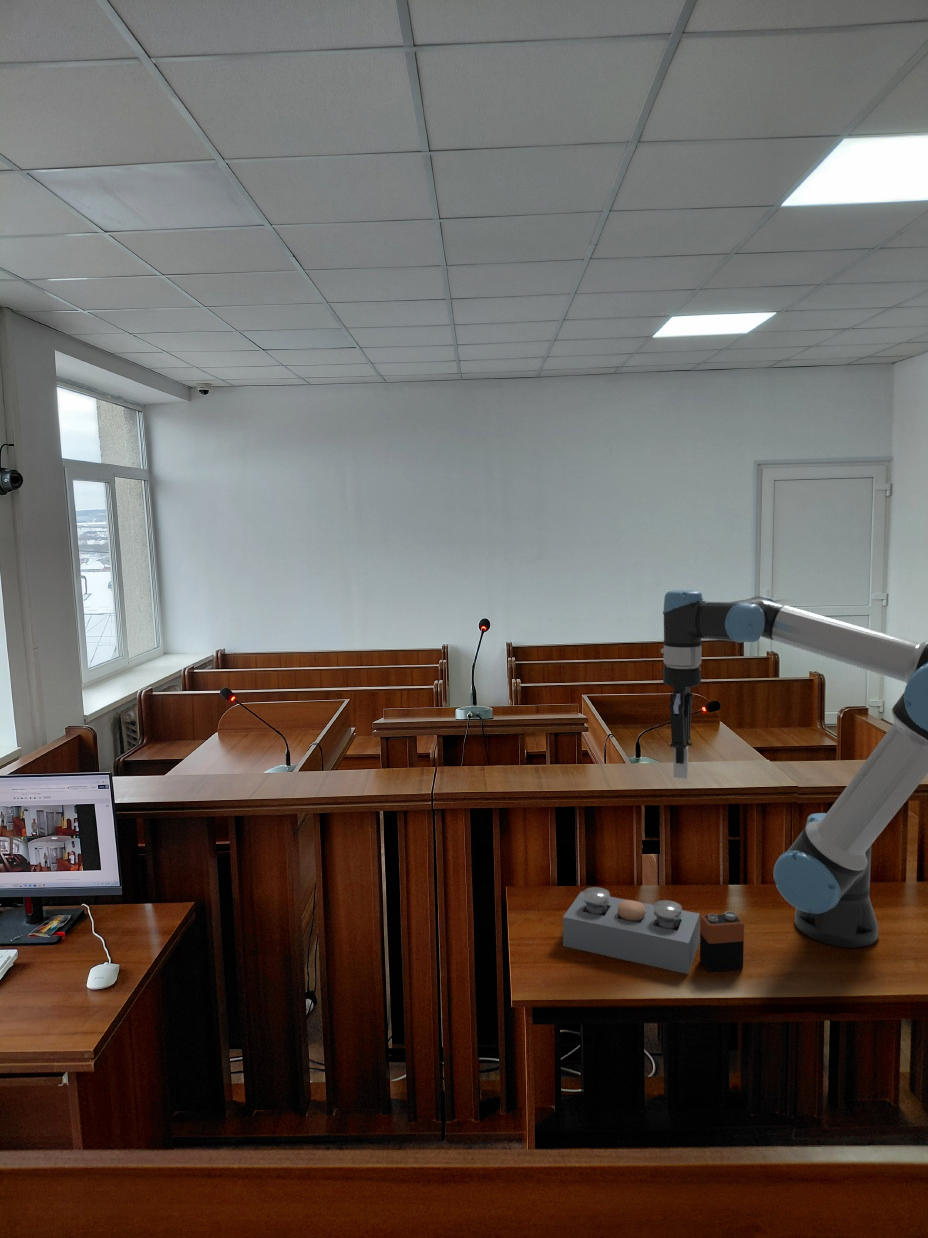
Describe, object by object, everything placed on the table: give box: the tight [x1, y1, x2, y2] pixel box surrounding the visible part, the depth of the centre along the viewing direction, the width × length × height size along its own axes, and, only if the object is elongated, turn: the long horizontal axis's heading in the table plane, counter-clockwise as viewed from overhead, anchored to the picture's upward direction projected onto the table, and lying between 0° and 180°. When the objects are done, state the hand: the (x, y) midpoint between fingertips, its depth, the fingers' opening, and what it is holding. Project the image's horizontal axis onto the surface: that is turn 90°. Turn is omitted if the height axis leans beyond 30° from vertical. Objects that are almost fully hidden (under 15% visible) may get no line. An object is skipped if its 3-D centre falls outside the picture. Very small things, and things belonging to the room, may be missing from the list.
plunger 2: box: [653, 899, 683, 931], centre depth 149 cm, size 5×5×6 cm
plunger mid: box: [618, 899, 645, 923], centre depth 152 cm, size 5×5×6 cm
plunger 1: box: [583, 886, 611, 916], centre depth 155 cm, size 5×5×6 cm
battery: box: [699, 910, 745, 973], centre depth 144 cm, size 4×7×10 cm, turn 96°
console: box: [562, 890, 701, 975], centre depth 152 cm, size 24×12×6 cm, turn 64°
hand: (680, 776), depth 162 cm, fingers closed
